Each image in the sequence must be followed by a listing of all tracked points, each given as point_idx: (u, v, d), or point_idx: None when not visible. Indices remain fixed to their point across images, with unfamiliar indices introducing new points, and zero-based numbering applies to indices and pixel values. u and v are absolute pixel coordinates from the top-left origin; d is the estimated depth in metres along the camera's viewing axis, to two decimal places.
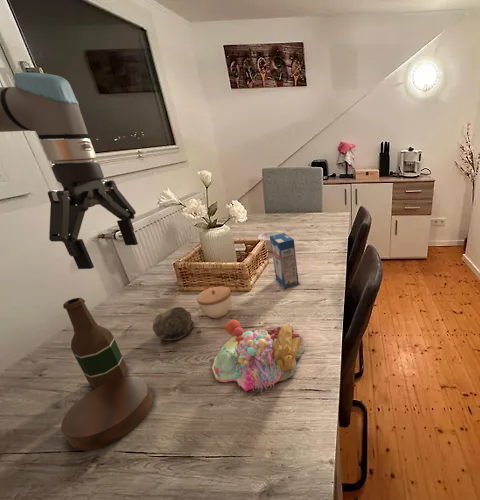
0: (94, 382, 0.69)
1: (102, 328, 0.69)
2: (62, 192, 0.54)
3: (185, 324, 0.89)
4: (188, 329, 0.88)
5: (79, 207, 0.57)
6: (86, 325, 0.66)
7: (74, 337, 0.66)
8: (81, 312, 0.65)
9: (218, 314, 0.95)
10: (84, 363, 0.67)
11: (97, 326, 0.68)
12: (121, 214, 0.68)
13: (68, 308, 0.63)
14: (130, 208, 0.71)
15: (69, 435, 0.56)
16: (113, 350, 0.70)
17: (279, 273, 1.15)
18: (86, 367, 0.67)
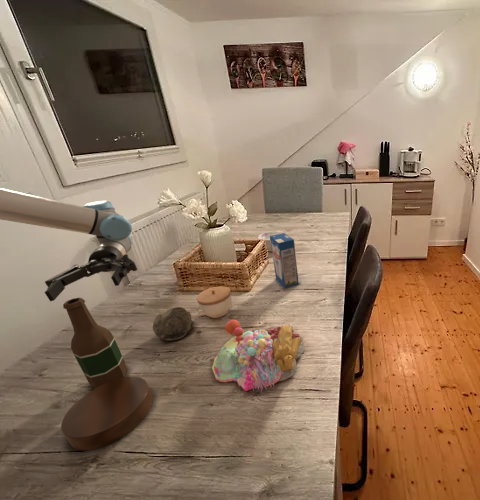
0: (94, 382, 0.69)
1: (102, 328, 0.69)
2: None
3: (185, 324, 0.89)
4: (188, 329, 0.88)
5: None
6: (86, 325, 0.66)
7: (74, 337, 0.66)
8: (81, 312, 0.65)
9: (218, 314, 0.95)
10: (84, 363, 0.67)
11: (97, 326, 0.68)
12: (68, 282, 0.77)
13: (68, 308, 0.63)
14: None
15: (69, 435, 0.56)
16: (113, 350, 0.70)
17: (279, 273, 1.15)
18: (86, 367, 0.67)
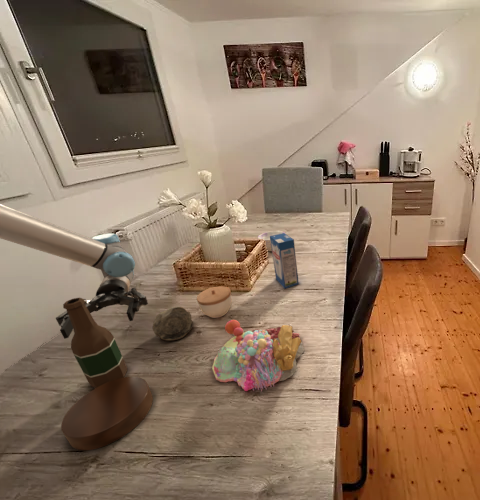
0: (94, 382, 0.69)
1: (102, 328, 0.69)
2: None
3: (185, 324, 0.89)
4: (188, 329, 0.88)
5: None
6: (86, 325, 0.66)
7: (74, 337, 0.66)
8: (81, 312, 0.65)
9: (218, 314, 0.95)
10: (84, 363, 0.67)
11: (97, 326, 0.68)
12: None
13: (68, 308, 0.63)
14: None
15: (69, 435, 0.56)
16: (113, 350, 0.70)
17: (279, 273, 1.15)
18: (86, 367, 0.67)
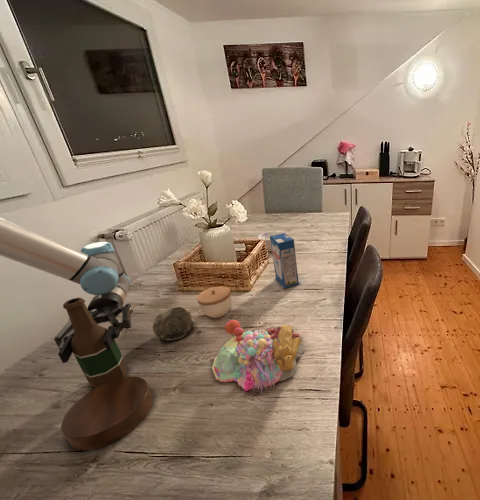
0: (94, 382, 0.69)
1: (102, 328, 0.69)
2: None
3: (185, 324, 0.89)
4: (188, 329, 0.88)
5: None
6: (86, 325, 0.66)
7: (74, 337, 0.66)
8: (81, 312, 0.65)
9: (218, 314, 0.95)
10: (84, 363, 0.67)
11: (97, 326, 0.68)
12: None
13: (68, 308, 0.63)
14: None
15: (69, 435, 0.56)
16: (113, 350, 0.70)
17: (279, 273, 1.15)
18: (86, 367, 0.67)
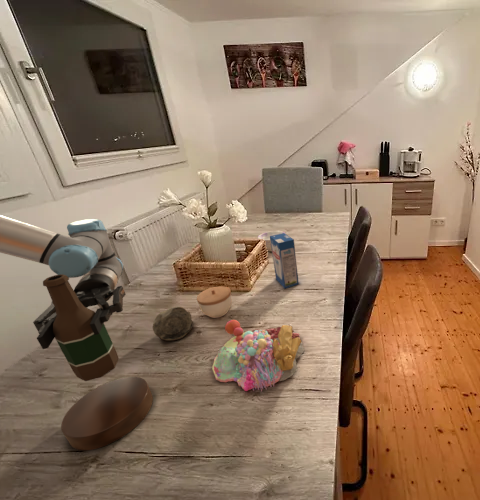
0: (80, 372, 0.60)
1: (89, 310, 0.61)
2: None
3: (185, 324, 0.89)
4: (188, 329, 0.88)
5: None
6: (70, 306, 0.57)
7: (56, 320, 0.57)
8: (64, 291, 0.56)
9: (218, 314, 0.95)
10: (68, 350, 0.58)
11: (83, 308, 0.60)
12: None
13: (48, 285, 0.54)
14: None
15: (69, 435, 0.56)
16: (101, 336, 0.62)
17: (279, 273, 1.15)
18: (70, 355, 0.59)
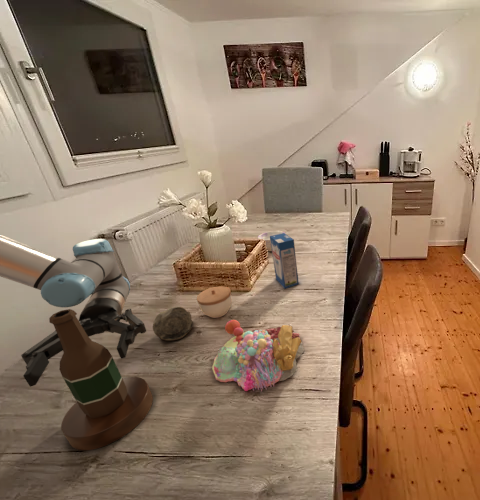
0: (88, 410, 0.57)
1: (97, 345, 0.58)
2: None
3: (185, 324, 0.89)
4: (188, 329, 0.88)
5: None
6: (77, 343, 0.54)
7: (63, 357, 0.54)
8: (72, 327, 0.53)
9: (218, 314, 0.95)
10: (75, 388, 0.55)
11: (91, 343, 0.57)
12: (53, 353, 0.58)
13: (55, 323, 0.51)
14: None
15: (69, 435, 0.56)
16: (110, 371, 0.59)
17: (279, 273, 1.15)
18: (78, 393, 0.56)
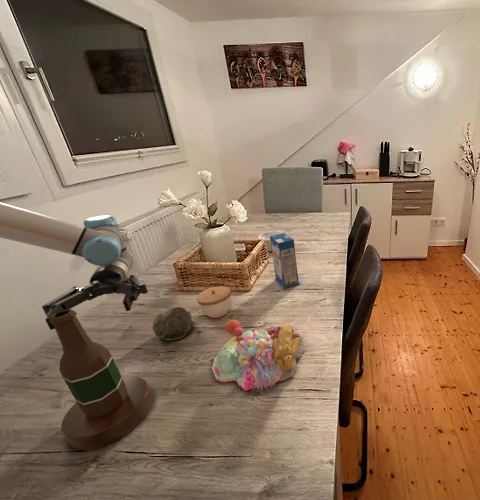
0: (88, 410, 0.57)
1: (97, 345, 0.58)
2: None
3: (185, 324, 0.89)
4: (188, 329, 0.88)
5: None
6: (77, 343, 0.54)
7: (63, 357, 0.54)
8: (72, 327, 0.53)
9: (218, 314, 0.95)
10: (75, 388, 0.55)
11: (91, 343, 0.57)
12: (68, 307, 0.68)
13: (55, 323, 0.51)
14: None
15: (69, 435, 0.56)
16: (110, 371, 0.59)
17: (279, 273, 1.15)
18: (78, 393, 0.56)
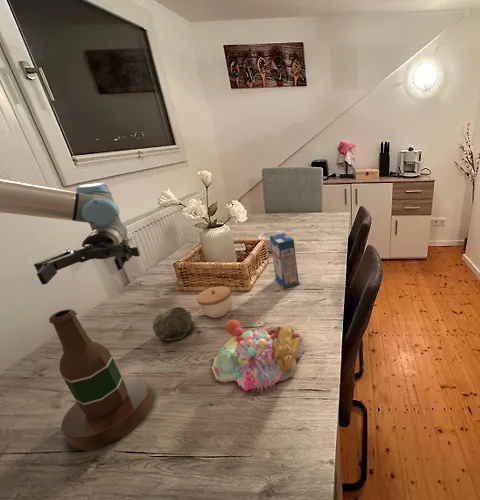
0: (88, 410, 0.57)
1: (97, 345, 0.58)
2: None
3: (185, 324, 0.89)
4: (188, 329, 0.88)
5: None
6: (77, 343, 0.54)
7: (63, 357, 0.54)
8: (72, 327, 0.53)
9: (218, 314, 0.95)
10: (75, 388, 0.55)
11: (91, 343, 0.57)
12: (60, 266, 0.69)
13: (55, 323, 0.51)
14: None
15: (69, 435, 0.56)
16: (110, 371, 0.59)
17: (279, 273, 1.15)
18: (78, 393, 0.56)
